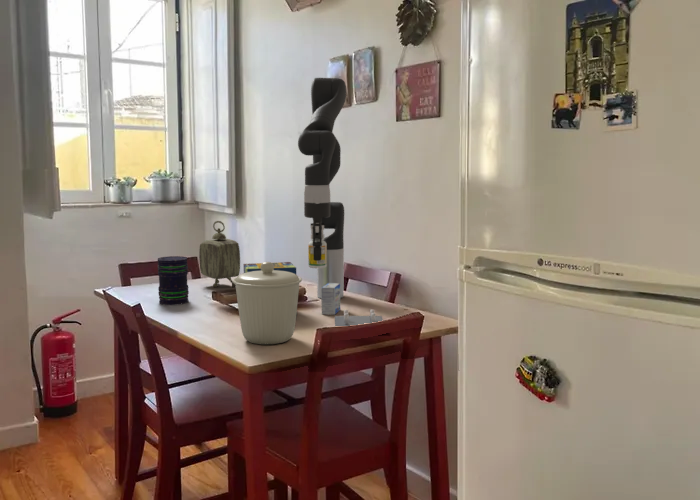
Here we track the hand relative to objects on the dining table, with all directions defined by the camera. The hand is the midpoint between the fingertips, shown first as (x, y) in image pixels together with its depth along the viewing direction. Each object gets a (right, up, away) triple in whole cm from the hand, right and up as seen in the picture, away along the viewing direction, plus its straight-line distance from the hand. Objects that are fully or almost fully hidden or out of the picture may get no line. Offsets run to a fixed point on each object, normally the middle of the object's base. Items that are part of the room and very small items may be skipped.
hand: (317, 258), depth 197 cm
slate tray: (+12, -20, -3) cm, 23 cm away
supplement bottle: (0, -3, 0) cm, 3 cm away
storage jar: (-50, -15, +31) cm, 61 cm away
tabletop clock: (-40, -12, +60) cm, 73 cm away
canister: (-12, -22, -17) cm, 30 cm away
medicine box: (+4, -17, +16) cm, 24 cm away
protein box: (-15, -18, +14) cm, 27 cm away
